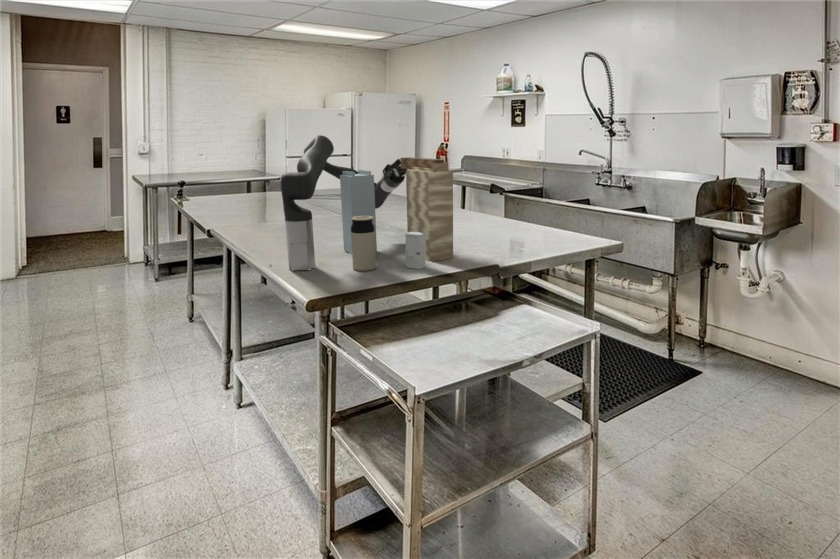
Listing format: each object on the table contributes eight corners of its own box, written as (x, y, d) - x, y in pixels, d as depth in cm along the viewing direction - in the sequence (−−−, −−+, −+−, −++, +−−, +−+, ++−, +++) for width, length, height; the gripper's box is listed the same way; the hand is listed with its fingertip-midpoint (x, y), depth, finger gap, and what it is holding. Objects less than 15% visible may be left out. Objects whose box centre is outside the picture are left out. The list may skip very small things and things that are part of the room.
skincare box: (405, 267, 195) (404, 233, 192) (411, 264, 199) (410, 231, 196) (420, 269, 192) (419, 234, 189) (426, 266, 196) (426, 232, 193)
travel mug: (380, 268, 195) (378, 216, 190) (363, 272, 189) (361, 219, 185) (365, 264, 200) (362, 214, 195) (348, 269, 195) (345, 217, 190)
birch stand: (453, 257, 208) (452, 162, 199) (430, 261, 203) (429, 163, 194) (429, 250, 221) (428, 160, 212) (408, 253, 216) (405, 161, 207)
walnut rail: (444, 171, 199) (444, 159, 198) (435, 171, 197) (435, 160, 196) (409, 167, 218) (409, 157, 217) (400, 168, 216) (400, 157, 215)
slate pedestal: (376, 251, 220) (373, 170, 212) (354, 255, 215) (349, 172, 207) (366, 248, 228) (363, 169, 219) (344, 251, 223) (339, 171, 214)
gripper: (373, 172, 225) (390, 152, 211) (404, 170, 232) (422, 151, 218) (378, 189, 223) (395, 170, 210) (409, 186, 231) (427, 168, 217)
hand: (409, 160), depth 214 cm, fingers open, 8 cm apart
